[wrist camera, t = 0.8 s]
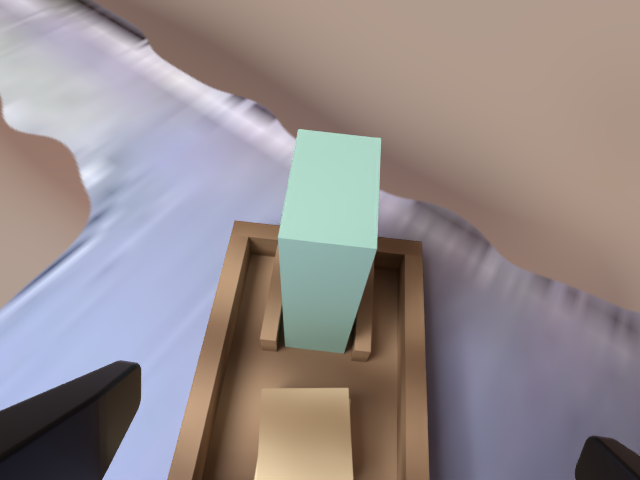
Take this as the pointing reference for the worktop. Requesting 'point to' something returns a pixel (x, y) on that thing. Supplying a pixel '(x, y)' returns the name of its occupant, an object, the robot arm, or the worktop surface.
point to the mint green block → (327, 236)
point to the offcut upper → (305, 434)
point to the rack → (308, 365)
